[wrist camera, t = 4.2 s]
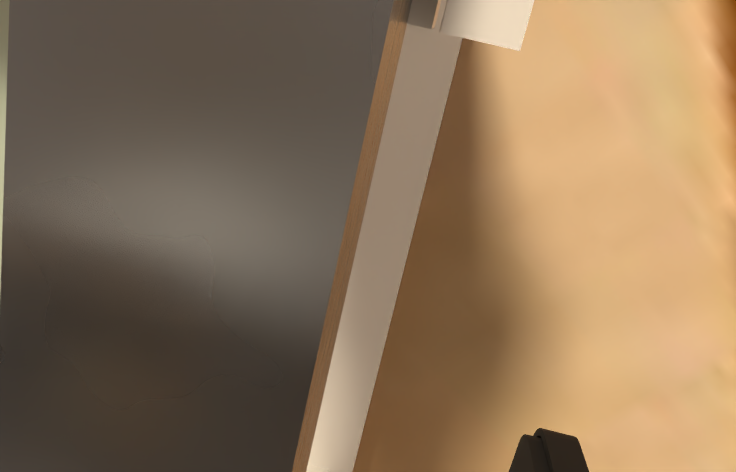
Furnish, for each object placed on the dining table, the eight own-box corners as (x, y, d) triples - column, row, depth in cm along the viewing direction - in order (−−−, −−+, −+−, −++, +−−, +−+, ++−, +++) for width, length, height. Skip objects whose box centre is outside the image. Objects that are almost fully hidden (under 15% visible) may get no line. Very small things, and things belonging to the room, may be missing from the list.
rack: (285, -169, 15) (0, -529, 5) (509, -119, 15) (647, -395, 5) (184, 501, 22) (-31, 901, 12) (339, 540, 22) (255, 980, 12)
